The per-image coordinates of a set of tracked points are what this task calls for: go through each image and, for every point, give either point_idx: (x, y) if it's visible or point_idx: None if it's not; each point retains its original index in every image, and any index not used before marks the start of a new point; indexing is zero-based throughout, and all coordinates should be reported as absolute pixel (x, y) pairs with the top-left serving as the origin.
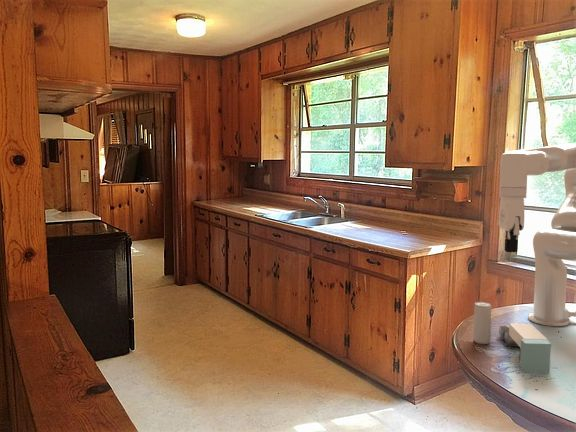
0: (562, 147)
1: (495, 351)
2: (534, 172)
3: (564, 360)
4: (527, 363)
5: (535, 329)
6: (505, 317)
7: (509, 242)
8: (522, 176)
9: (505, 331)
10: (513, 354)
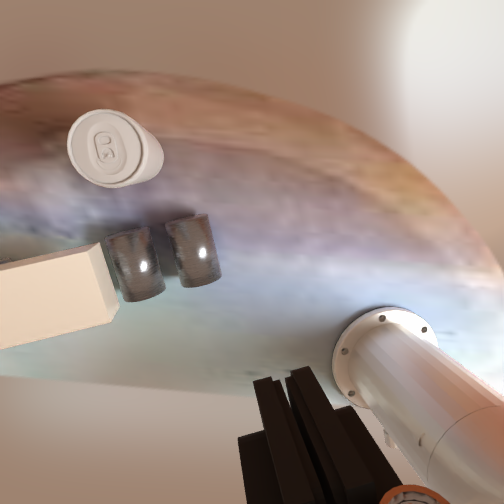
0: None
1: (65, 193)
2: None
3: (70, 366)
4: None
5: (49, 332)
6: (389, 242)
7: (270, 501)
8: None
9: (168, 233)
10: (61, 243)
